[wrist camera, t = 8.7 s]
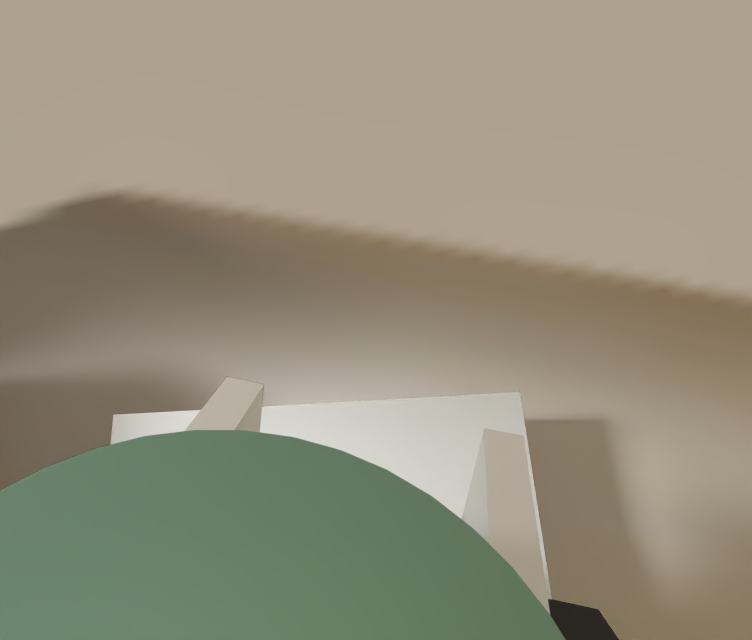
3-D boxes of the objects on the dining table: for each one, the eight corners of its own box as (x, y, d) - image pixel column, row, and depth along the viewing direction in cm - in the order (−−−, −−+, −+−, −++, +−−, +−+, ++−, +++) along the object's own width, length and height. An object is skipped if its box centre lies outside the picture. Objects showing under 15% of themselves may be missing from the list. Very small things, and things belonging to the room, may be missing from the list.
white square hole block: (116, 883, 20) (60, 947, 17) (149, 440, 26) (113, 414, 22) (557, 846, 21) (599, 901, 17) (498, 420, 26) (519, 391, 23)
